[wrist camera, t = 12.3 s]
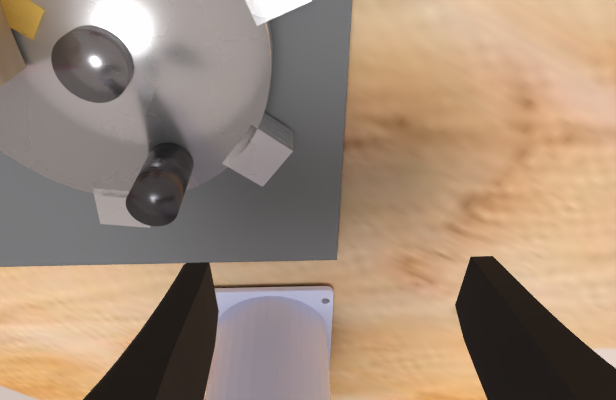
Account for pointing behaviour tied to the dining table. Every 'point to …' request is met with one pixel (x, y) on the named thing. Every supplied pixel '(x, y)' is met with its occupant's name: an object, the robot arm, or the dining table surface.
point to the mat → (216, 177)
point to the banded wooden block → (8, 52)
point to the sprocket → (143, 98)
